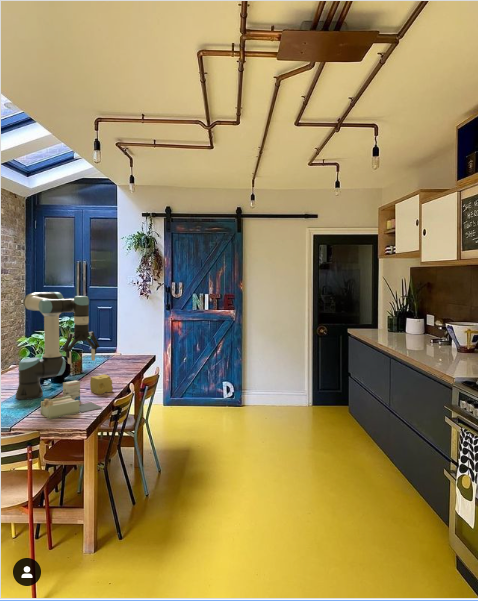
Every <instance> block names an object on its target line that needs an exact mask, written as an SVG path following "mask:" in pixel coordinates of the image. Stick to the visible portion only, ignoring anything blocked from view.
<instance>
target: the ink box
mask: <svg viewBox="0 0 478 601" xmlns="http://www.w3.org/2000/svg"><path fill="white" fill-rule="evenodd" d="M67 396H71V399H73V400H75V401H76V400H79V401H80V400H81V381H79V380H71V381H66V382H62V397H67Z"/></svg>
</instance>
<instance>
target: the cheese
mask: <svg viewBox="0 0 478 601" xmlns="http://www.w3.org/2000/svg"><path fill="white" fill-rule="evenodd" d="M89 386H90V391H91V392H92V393H95V394H97V395H101V394H104V393H112V392H113V389H114V387H113V380H112V378H111V376H110V375H108V374H100V375H96V376H91V377H90V382H89Z"/></svg>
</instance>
